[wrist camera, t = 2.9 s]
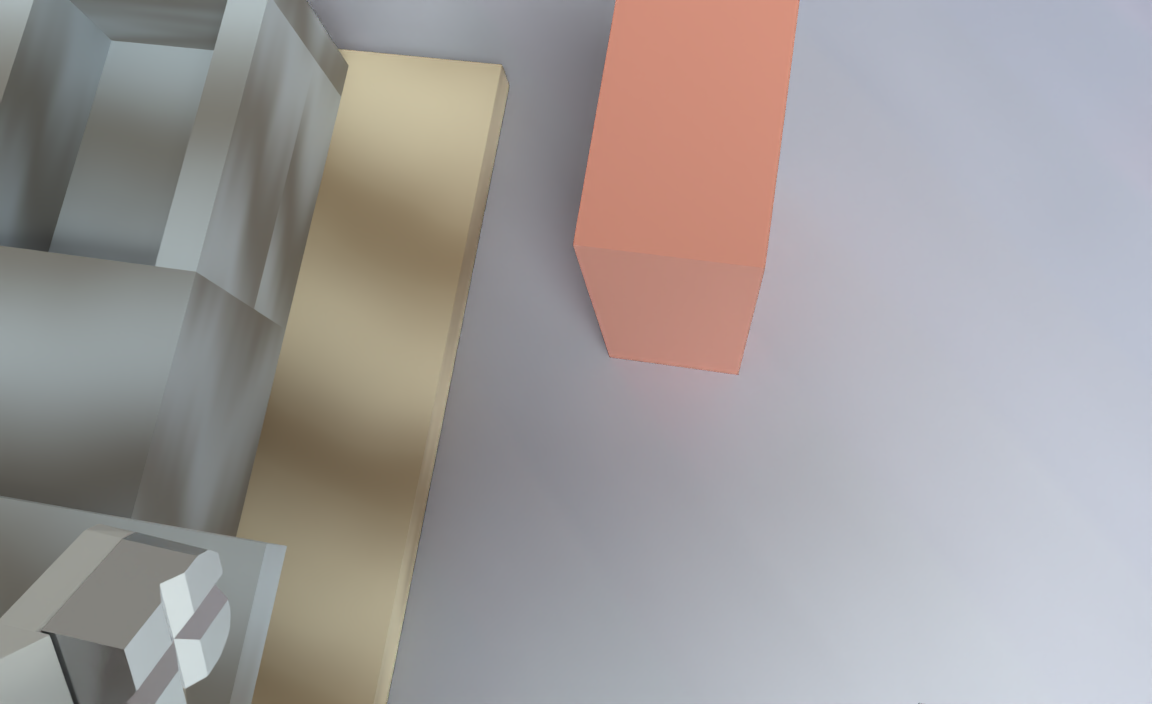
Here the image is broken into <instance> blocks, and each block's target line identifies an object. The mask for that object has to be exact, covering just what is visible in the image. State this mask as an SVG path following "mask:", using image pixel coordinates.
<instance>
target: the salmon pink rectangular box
mask: <svg viewBox="0 0 1152 704" xmlns="http://www.w3.org/2000/svg"><path fill="white" fill-rule="evenodd" d="M798 8H799V0H616V2H615V8H614V13H613V19H612V25H611V31H610V36H609V42H608V48H607V53H606V59H605V65H604V70H603V76H602V82H601V88H600V93H599V99H598V105H597V110H596V116H595V122H594V127H593V133H592V139H591V145H590V150H589V156H588V162H587V167H586V173H585V179H584V184H583V190H582V196H581V201H580V207H579V213H578V219H577V224H576V230H575V236H574V241H573V247H574V250H575V253H576V256H577V259H578V262H579V265H580V268H581V271H582V274H583V277H584V280H585V283H586V286H587V289H588V292H589V296H590V299H591V302H592V305H593V308H594V311H595V314H596V317H597V320H598V323H599V326H600V329H601V332H602V335H603V338H604V341H605V344H606V347H607V351H608V354H609V357H613V358H620V359H627V360H634V361H642V362H649V363H656V364H663V365H671V366H678V367H685V368H692V369H700V370H707V371H714V372H721V373H729V374H736V375H738V373H739V369H740V365H741V361H742V357H743V353H744V349H745V345H746V341H747V337H748V333H749V329H750V325H751V321H752V317H753V313H754V309H755V305H756V301H757V297H758V294H759V290H760V286H761V282H762V278H763V274H764V270H765V263H766V256H767V248H768V240H769V232H770V225H771V217H772V209H773V202H774V194H775V186H776V178H777V171H778V163H779V155H780V147H781V140H782V132H783V124H784V116H785V109H786V101H787V93H788V85H789V78H790V70H791V62H792V55H793V47H794V39H795V31H796V24H797V16H798Z"/></svg>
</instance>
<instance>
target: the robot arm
mask: <svg viewBox="0 0 1152 704" xmlns="http://www.w3.org/2000/svg"><path fill="white" fill-rule="evenodd" d="M222 574H223V570H222V566H221V562H220V558H219V554H218V553H217V552H214V551H210V550H207V549H203V548H199V547H195V546H191V545H187V544H183V543H179V542H175V541H171V540H167V539H163V538H158V537H154V536H150V535H146V534H142V533H138V532H133V531H129V530H124V529H120V528H116V527H112V526H107V525H103V524H97V525H95V526H93V527H90V528H88V529H86V530H85V531H83V532H82V533H81V534H80V535H79V536H78V537H77V538H76V540H75V541H74V542H73V543H72V544H71V545H70V546H69V547H68V548H67V549H66V550H65V551H64V552H63V553H62V554H61V555H60V556H59V557H58V558H57V559H56V560H55V562H54V563H53V564H52V565H51V566H50V567H49V568H48V569H47V570H46V571H45V572H44V573H43V574H42V575H41V576H40V577H39V578H38V579H37V580H36V581H35V582H34V583H33V585H32V586H31V587H30V588H29V589H28V590H27V591H26V592H25V593H24V594H23V595H22V596H21V597H20V598H19V599H18V600H17V601H16V602H15V603H14V604H13V605H12V606H11V608H10V609H9V610H8V611H7V612H6V613H5V614H4V615H3V616H2V617H1V618H0V704H187V699H186V688H187V687H189V686H191V685H193V684H195V683H196V682H198V681H200V680H202V679H203V678H205V677H207V676H208V675H209V674H210V672H211V670H212V669H213V667H214V666H215V664H216V663H217V661H218V659H219V658H220V656H221V654H222V651H223V648H224V646H225V643H226V640H227V637H228V634H229V631H230V619H231V611H230V606H229V600H228V598H227V597H226V596H225V595H224V594H223V593H222V592H221V590H220V589H219V588H218V587H217V586H216V585H215V583H216V582H217V581H218V579H219V578H220V577H221V575H222ZM918 704H923V703H918Z"/></svg>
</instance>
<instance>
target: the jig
mask: <svg viewBox="0 0 1152 704" xmlns="http://www.w3.org/2000/svg"><path fill="white" fill-rule="evenodd" d="M508 90H509V83H508V80H507V78H506V75H505V72H504V69H503V66H502V65H501V64H490V63H480V62H469V61H459V60H448V59H438V58H428V57H417V56H407V55H396V54H386V53H375V52H365V51H354V50H344V49H338V48H337V47H336V45H335V44H334V42H333V41H332V39H331V38H330V36H329V34H328V33H327V31H326V30H325V28H324V27H323V25H322V24H321V22H320V20H319V19H318V17H317V16H316V14H315V13H314V11H313V10H312V8H311V7H310V5H309V3H308V2H307V0H0V618H1V617H2V616H3V615H4V614H5V613H6V612H7V611H8V610H9V609H10V608H11V606H12V605H13V604H14V603H15V602H16V601H17V600H18V599H19V598H20V597H21V596H22V595H23V594H24V593H25V592H26V591H27V590H28V589H29V588H30V587H31V586H32V585H33V583H34V582H35V581H36V580H37V579H38V578H39V577H40V576H41V575H42V574H43V573H44V572H45V571H46V570H47V569H48V568H49V567H50V566H51V565H52V564H53V563H54V562H55V560H56V559H57V558H58V557H59V556H60V555H61V554H62V553H63V552H64V551H65V550H66V549H67V548H68V547H69V546H70V545H71V544H72V543H73V542H74V541H75V540H76V538H77V537H78V536H79V535H80V534H81V533H82V532H83V531H85V530H86V529H88V528H90V527H93V526H95V525H97V524H103V525H107V526H112V527H116V528H120V529H124V530H129V531H133V532H138V533H142V534H146V535H150V536H154V537H158V538H163V539H167V540H171V541H175V542H179V543H183V544H187V545H191V546H195V547H199V548H203V549H207V550H210V551H214V552H217V553H218V554H219V558H220V562H221V566H222V570H223V574H222V575H221V577H220V578H219V579H218V581H217V582H216V583H215V585H216V586H217V587H218V588H219V589H220V590H221V592H222V593H223V594H224V595H225V596H226V597H227V598H228V600H229V606H230V611H231V619H230V631H229V634H228V637H227V640H226V643H225V646H224V648H223V651H222V654H221V656H220V658H219V659H218V661H217V663H216V664H215V666H214V667H213V669H212V670H211V672H210V674H209V675H208V676H207V677H205V678H203V679H202V680H200V681H198V682H196V683H195V684H193V685H191V686H189V687H187V688H186V699H187V704H387V701H388V696H389V691H390V685H391V680H392V675H393V670H394V665H395V660H396V655H397V650H398V645H399V640H400V635H401V630H402V625H403V620H404V615H405V610H406V605H407V600H408V595H409V590H410V585H411V579H412V574H413V569H414V564H415V559H416V554H417V549H418V544H419V539H420V534H421V529H422V524H423V519H424V514H425V509H426V504H427V499H428V494H429V489H430V484H431V479H432V474H433V468H434V463H435V458H436V453H437V448H438V443H439V438H440V433H441V428H442V423H443V418H444V413H445V408H446V403H447V398H448V393H449V388H450V383H451V378H452V373H453V368H454V362H455V357H456V352H457V347H458V342H459V337H460V332H461V327H462V322H463V317H464V312H465V307H466V302H467V297H468V292H469V287H470V282H471V277H472V272H473V267H474V262H475V257H476V251H477V246H478V241H479V236H480V231H481V226H482V221H483V216H484V211H485V206H486V201H487V196H488V191H489V186H490V181H491V176H492V171H493V166H494V161H495V156H496V151H497V145H498V140H499V135H500V130H501V125H502V120H503V115H504V110H505V105H506V100H507V95H508Z"/></svg>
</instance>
